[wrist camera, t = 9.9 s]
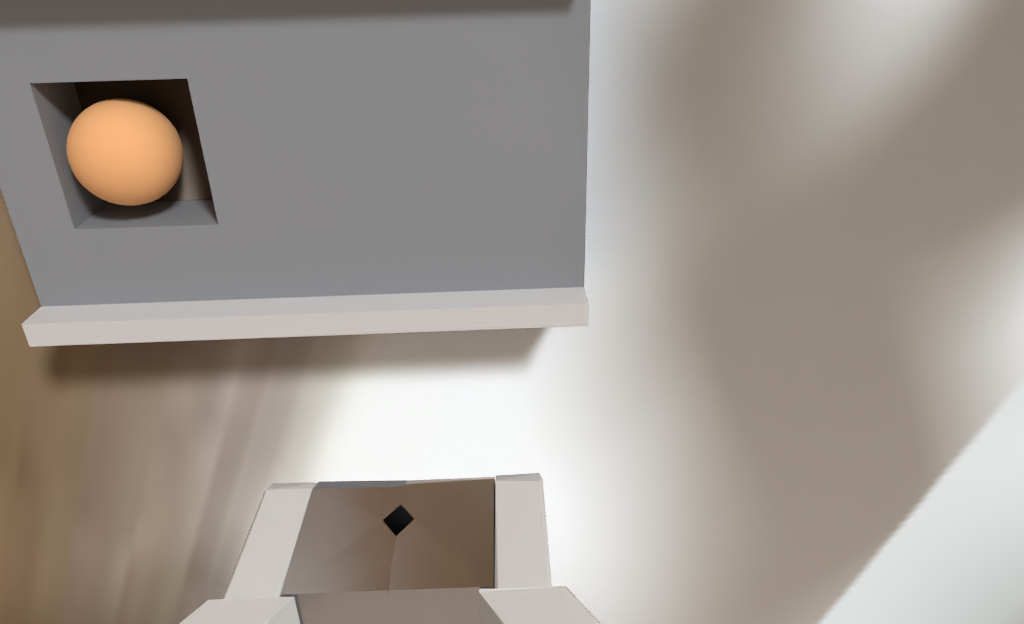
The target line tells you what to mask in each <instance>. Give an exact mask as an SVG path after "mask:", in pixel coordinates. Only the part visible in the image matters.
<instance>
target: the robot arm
mask: <svg viewBox="0 0 1024 624" xmlns="http://www.w3.org/2000/svg"><path fill="white" fill-rule="evenodd" d="M179 624H601V623H600V622H599V621H598V620H597V619H596V618H595V617H594V616H593V615H592V614H591V613H590V611H589V610H588V609H587V608H586V607H585V606H584V605H583V604H582V603H581V602H580V601H579V600H578V599H577V598H576V597H575V595H574V594H573V593H572V592H571V591H570V590H569V589H568V588H567V587H566V586H557V587H552V584H551V573H550V561H549V549H548V538H547V526H546V514H545V503H544V491H543V479H542V477H541V476H540V474H539V473H535V474H518V475H501V476H496V480H495V477H481V478H458V479H435V480H412V481H342V482H318V483H273V484H272V485H271V486H270V487H269V488H268V489H267V490H266V491H265V493H264V495H263V497H262V500H261V502H260V505H259V507H258V510H257V513H256V515H255V518H254V520H253V523H252V525H251V528H250V530H249V533H248V535H247V538H246V541H245V543H244V546H243V548H242V551H241V553H240V556H239V558H238V561H237V563H236V566H235V568H234V571H233V574H232V576H231V579H230V581H229V584H228V586H227V589H226V591H225V594H224V596H223V599H215V600H207V601H206V602H205V603H204V604H202V605H201V606H200V607H199V608H197V609H196V610H195V611H194V612H193V613H191V614H190V615H189V616H188V617H186V618H185V619H184V620H183V621H182V622H180V623H179Z"/></svg>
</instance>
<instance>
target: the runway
mask: <svg viewBox="0 0 1024 624" xmlns="http://www.w3.org/2000/svg"><path fill="white" fill-rule="evenodd" d="M589 43H590V0H0V188H1V191H2V194H3V197H4V200H5V203H6V206H7V209H8V212H9V214H10V217H11V220H12V223H13V226H14V229H15V232H16V235H17V238H18V241H19V244H20V246H21V249H22V252H23V255H24V258H25V261H26V264H27V267H28V270H29V273H30V275H31V278H32V281H33V284H34V287H35V290H36V293H37V296H38V299H39V302H40V304H41V307H40V308H39V309H38V310H37V311H36V312H35V313H34V314H32V315H31V316H30V317H29V318H28V319H27V320H26V321H25V322H24V323H22V327H23V330H24V332H25V335H26V338H27V341H28V343H29V346H30V347H32V346H59V345H86V344H113V343H140V342H167V341H194V340H221V339H248V338H275V337H302V336H329V335H355V334H382V333H409V332H436V331H463V330H490V329H517V328H544V327H571V326H588V300H587V296H586V293H585V289H584V263H585V219H586V175H587V131H588V87H589ZM155 79H187V80H188V85H189V89H190V94H191V99H192V103H193V108H194V113H195V118H196V122H197V127H198V132H199V136H200V141H201V146H202V150H203V155H204V160H205V165H206V169H207V174H208V179H209V183H210V188H211V193H212V197H213V200H188V201H158V202H149V203H146V204H141V205H132V206H131V205H119V204H114V203H108V202H107V201H105V200H103V199H101V198H99V197H97V196H95V195H94V194H92V193H91V192H90V191H88V190H87V189H86V188H85V187H84V186H83V185H82V184H81V183H80V182H79V181H78V179H77V178H76V176H75V175H74V173H73V171H72V169H71V167H70V164H69V161H68V157H67V151H66V143H67V137H68V133H69V130H70V128H71V126H72V124H73V122H74V121H75V119H76V118H77V117H78V116H79V114H80V113H81V112H82V109H81V105H80V102H79V98H78V94H77V91H76V87H75V84H74V82H89V81H122V80H155Z"/></svg>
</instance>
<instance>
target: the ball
mask: <svg viewBox="0 0 1024 624" xmlns="http://www.w3.org/2000/svg"><path fill="white" fill-rule="evenodd" d="M66 151H67V157H68V161H69V164H70V167H71V169H72V171H73V173H74V175H75V176H76V178H77V179H78V181H79V182H80V183H81V184H82V185H83V186H84V187H85V188H86V189H87V190H88V191H90V192H91V193H92V194H94V195H95V196H97V197H99V198H101V199H103V200H105V201H108V202H111V203H114V204H119V205H131V206H132V205H141V204H146V203H149V202H152V201H154V200H157V199H159V198H160V197H162V196H163V195H165V194H166V193H167V192H168V191H169V190H170V189H171V188H172V187H173V186H174V185H175V183H176V182H177V180H178V178H179V176H180V174H181V171H182V168H183V161H184V153H183V146H182V142H181V139H180V137H179V134H178V132H177V131H176V129H175V127H174V126H173V125H172V123H171V122H170V121H169V120H168V119H167V118H166V117H165V116H164V115H163V114H162V113H161V112H159V111H158V110H156V109H155V108H153V107H152V106H150V105H147V104H145V103H143V102H140V101H137V100H132V99H124V98H116V99H108V100H104V101H100V102H98V103H95V104H93V105H91V106H90V107H88V108H86V109H85V110H84V111H83V112H81V113H80V114H79V116H78V117H77V118H76V119H75V121H74V122H73V124H72V126H71V128H70V130H69V133H68V137H67V143H66Z"/></svg>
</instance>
